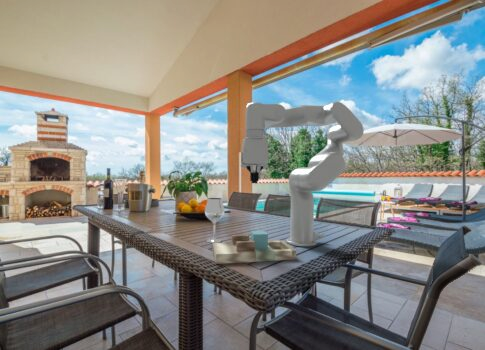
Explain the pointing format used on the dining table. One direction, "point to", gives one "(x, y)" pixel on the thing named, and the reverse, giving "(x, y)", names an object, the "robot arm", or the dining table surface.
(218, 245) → the board
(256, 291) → the dining table surface
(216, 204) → the wineglass
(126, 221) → the dining table surface
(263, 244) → the teal cube
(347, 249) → the dining table surface
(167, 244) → the dining table surface
